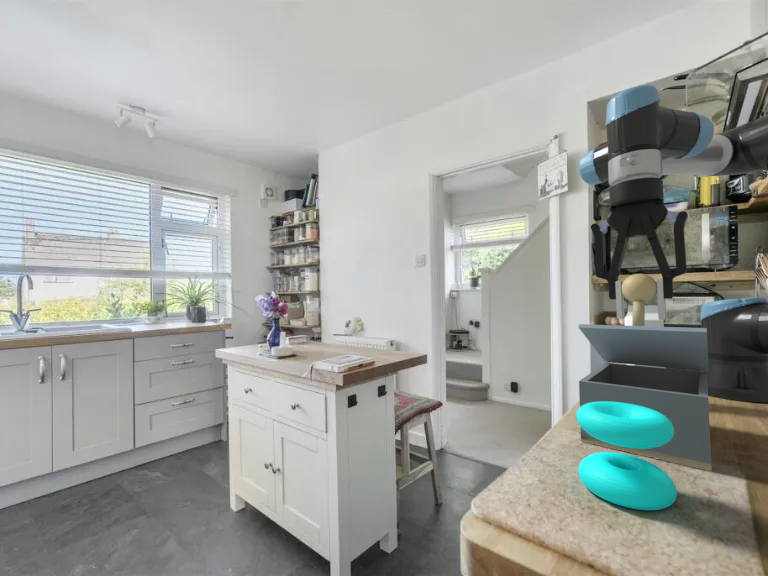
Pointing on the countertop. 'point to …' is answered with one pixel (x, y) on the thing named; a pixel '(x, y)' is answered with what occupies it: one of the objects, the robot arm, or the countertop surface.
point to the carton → (657, 407)
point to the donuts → (621, 471)
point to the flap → (648, 335)
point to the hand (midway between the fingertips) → (640, 318)
